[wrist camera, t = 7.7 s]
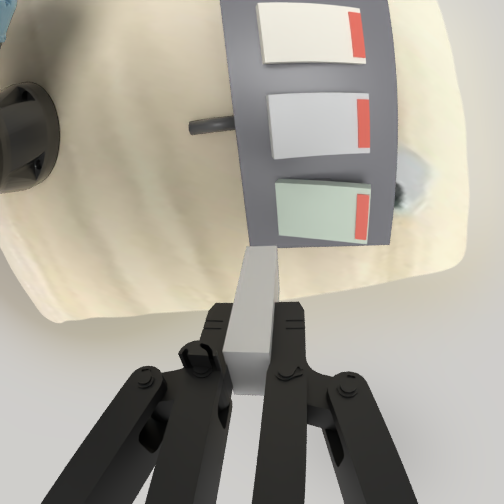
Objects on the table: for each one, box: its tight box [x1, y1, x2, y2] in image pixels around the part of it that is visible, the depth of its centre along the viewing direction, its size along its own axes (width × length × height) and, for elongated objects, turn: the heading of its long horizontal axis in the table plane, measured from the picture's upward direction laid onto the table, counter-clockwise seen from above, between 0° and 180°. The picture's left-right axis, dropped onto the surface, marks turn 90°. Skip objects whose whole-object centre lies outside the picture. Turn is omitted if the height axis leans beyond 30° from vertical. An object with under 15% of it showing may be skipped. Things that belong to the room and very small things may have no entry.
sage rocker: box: [275, 179, 371, 244], centre depth 25 cm, size 8×5×1 cm, turn 96°
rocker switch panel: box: [189, 0, 398, 248], centre depth 24 cm, size 19×24×5 cm
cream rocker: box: [256, 2, 366, 65], centre depth 17 cm, size 8×5×1 cm, turn 96°
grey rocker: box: [266, 92, 370, 160], centre depth 21 cm, size 8×5×1 cm, turn 96°
